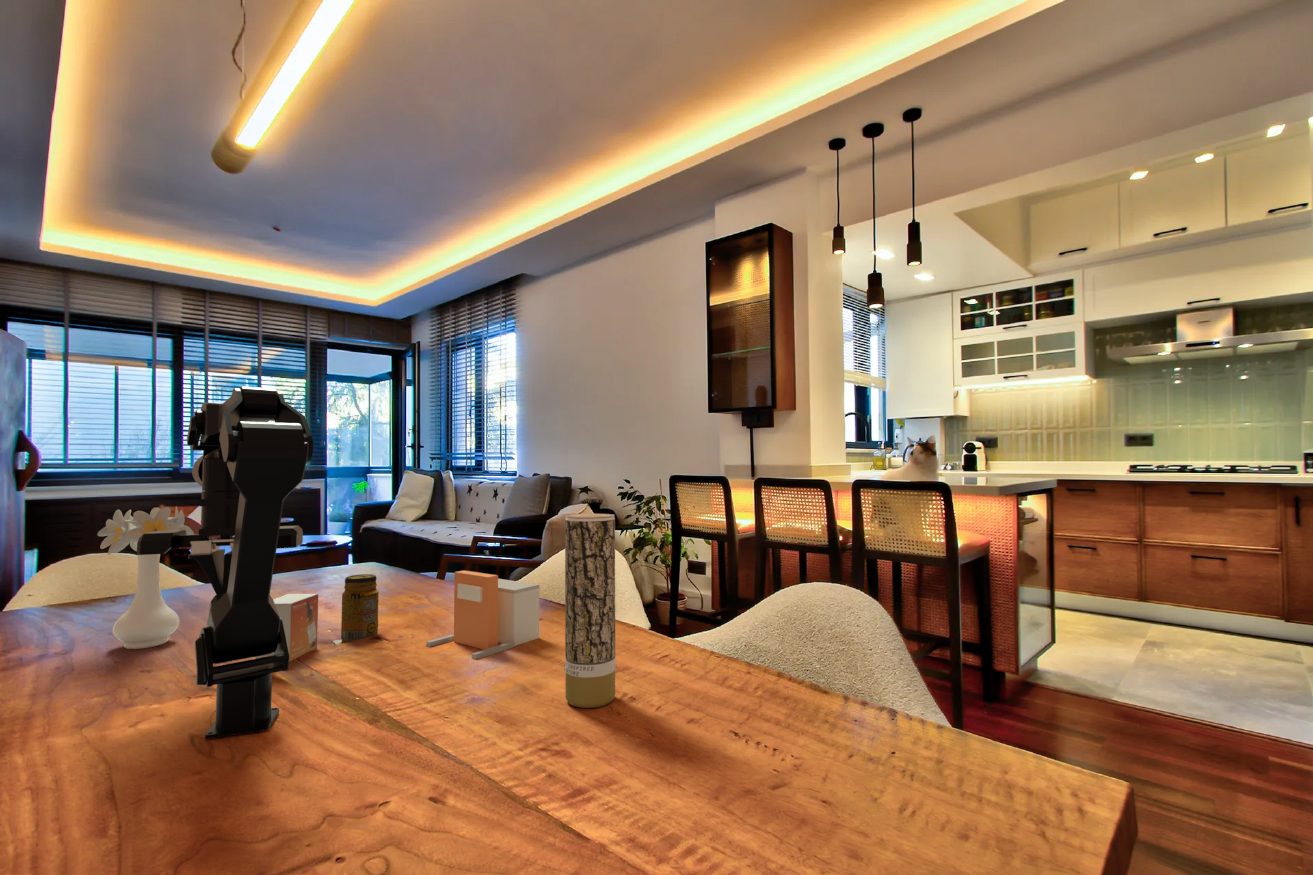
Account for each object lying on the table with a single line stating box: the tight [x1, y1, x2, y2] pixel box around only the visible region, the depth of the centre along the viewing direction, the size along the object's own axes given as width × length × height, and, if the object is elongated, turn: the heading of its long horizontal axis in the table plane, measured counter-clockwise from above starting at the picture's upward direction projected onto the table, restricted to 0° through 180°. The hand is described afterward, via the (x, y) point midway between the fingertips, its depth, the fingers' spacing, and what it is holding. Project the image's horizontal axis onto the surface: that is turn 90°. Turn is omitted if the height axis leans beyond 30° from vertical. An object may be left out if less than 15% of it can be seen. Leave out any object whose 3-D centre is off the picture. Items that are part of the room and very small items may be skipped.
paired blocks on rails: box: [425, 578, 540, 660], centre depth 104 cm, size 20×14×11 cm
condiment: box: [332, 573, 379, 646], centre depth 111 cm, size 7×8×12 cm
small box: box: [255, 593, 319, 671], centre depth 100 cm, size 8×6×10 cm
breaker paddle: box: [453, 570, 499, 650], centre depth 104 cm, size 2×9×12 cm, turn 55°
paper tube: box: [564, 513, 616, 709], centre depth 84 cm, size 7×7×25 cm
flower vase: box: [97, 506, 195, 650], centre depth 111 cm, size 13×18×25 cm
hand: (223, 600), depth 87 cm, fingers closed
